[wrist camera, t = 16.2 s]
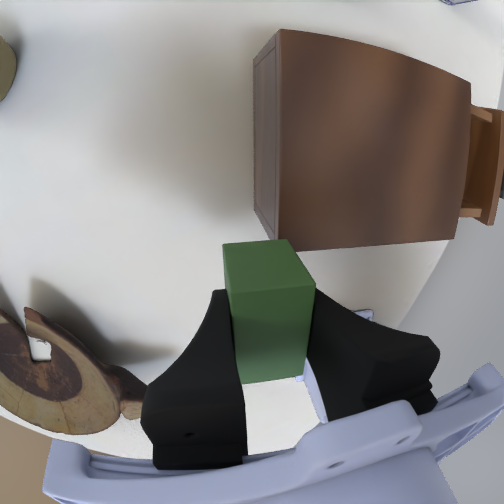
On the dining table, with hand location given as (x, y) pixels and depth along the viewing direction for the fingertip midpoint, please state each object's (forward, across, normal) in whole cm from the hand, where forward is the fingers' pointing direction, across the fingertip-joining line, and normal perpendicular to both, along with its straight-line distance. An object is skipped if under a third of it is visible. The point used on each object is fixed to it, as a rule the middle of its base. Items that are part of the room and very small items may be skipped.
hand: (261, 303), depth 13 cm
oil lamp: (+11, +22, +15) cm, 29 cm away
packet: (+1, 0, 0) cm, 1 cm away
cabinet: (+10, -8, -7) cm, 15 cm away
